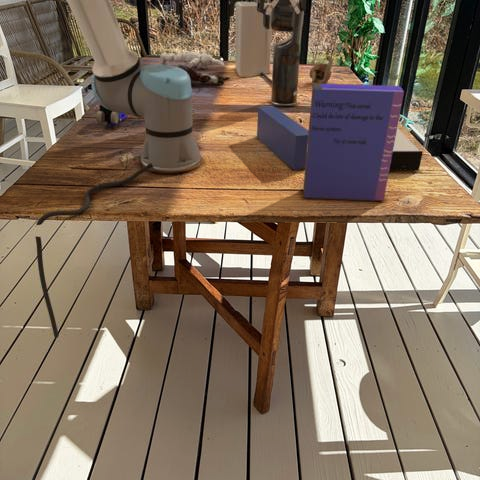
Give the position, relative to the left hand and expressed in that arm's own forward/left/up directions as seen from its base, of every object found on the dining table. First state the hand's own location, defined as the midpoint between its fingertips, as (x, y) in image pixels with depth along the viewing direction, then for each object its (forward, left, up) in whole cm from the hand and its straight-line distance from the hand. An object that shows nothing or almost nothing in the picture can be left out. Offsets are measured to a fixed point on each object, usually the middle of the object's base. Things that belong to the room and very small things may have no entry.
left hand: (205, 28), depth 139 cm
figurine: (+48, +18, -28) cm, 58 cm away
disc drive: (-18, -51, -28) cm, 61 cm away
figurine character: (-8, +27, -28) cm, 40 cm away
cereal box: (-45, -43, -28) cm, 69 cm away
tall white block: (+77, -2, -28) cm, 82 cm away
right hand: (+6, -21, 0) cm, 22 cm away
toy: (+80, +27, -28) cm, 89 cm away
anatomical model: (+61, -33, -28) cm, 74 cm away
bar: (-20, -26, -28) cm, 44 cm away
